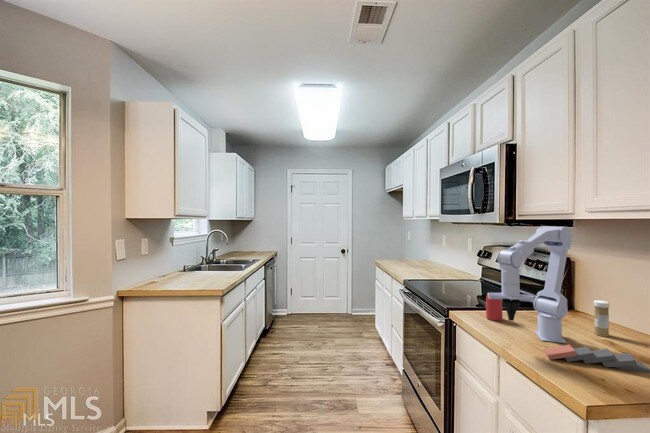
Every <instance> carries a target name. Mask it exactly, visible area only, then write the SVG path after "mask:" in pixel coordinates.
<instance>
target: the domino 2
mask: <svg viewBox="0 0 650 433" xmlns="http://www.w3.org/2000/svg"><path fill="white" fill-rule="evenodd" d="M591 351H592V352H593V353H594V356H595V358H589V359H583V360H582V361H583V363H584V364H587V365H588V364H597V363H602V362H606V361H615V358H614V356H613V353H612V352H611V351H610V349H609V348H602V349H596V350H595V349H594V350H591Z"/></svg>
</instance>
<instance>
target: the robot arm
mask: <svg viewBox="0 0 650 433" xmlns="http://www.w3.org/2000/svg"><path fill="white" fill-rule="evenodd" d="M572 241H573V233H572V231H571V229H570V228H569V227H568V226H548V225H547V226H546V225H541V226H539V227H538V228H537V229H536V232H535V233H534V234H533V235H532V236H531V237H529V238H528V239H527V240H524V239H523V240H522V239H520V240H517V242H516V243H515V244H514V245H513V246H512V245H511V246H509V248H508V249H502V250H501V251H499V253H498V255H497V257H496V260H497V263H498V264H499V269H500V270H501V271H500V272H501V274H500V275H501V276H500V277H501V279H500V280H501V292H497V293H488V292H487V293H488V298H489V299H501V300H502V304H503V305H504V307H505V308H504V309H506V310H505V311H506V313H507V314H506V315H507V318H508V320H509V321H515V316H516V313H517V311H518V309H519V307H520V306H521V302H530V303H532V304H533V305H532V306H533V309H534V310H535V311H536V314H537V330H534V333H535V335H537V336H538V338H539V339H540V340H541V341H542V342H550V343H551V342H553V343H561V344H567V341H566V340H565V339H564V338H563V325H562V324H563V323H562V322H563V321H562V320H563V319H564V318H565V317H566V316H567V315H568V299H567V298H566V296H564V295H563V294H562V292H561V291H562V287H563V286H562V285H563V281H564V280H563V278H564V273H565V268H566V262H567V259H568V258H567V257H568V251H569V250H571V246H572ZM542 244H543V246H545V247H546V248H548V249H549V250H550V255H549V261H548V266H547V271H546V278H545V282H544V288H543V289H542V290H539V291H538V292H537V293H536V296H534V295H530V294H521V293H520V291H521V290H520V267H521V266H522V265H523V264H524V261H525V259H526V258H528V257H529V256H531V255H532V254H533V253H534V252H535V248H536V247H538V246H540V245H542Z"/></svg>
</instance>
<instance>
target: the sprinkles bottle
mask: <svg viewBox="0 0 650 433" xmlns="http://www.w3.org/2000/svg"><path fill="white" fill-rule="evenodd" d="M593 307H594V314H593V315H594V316H593V317H594V318H593V319H594V322H593V323H594V334H595V335H596V336H600V337H605V338H606V337H610V333H609V332H610V331H609V330H610V314H609V312H610V310H609V308H610V303H609V301H606V300H601V299H600V300H599V299H597V300H593Z"/></svg>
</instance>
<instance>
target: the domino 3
mask: <svg viewBox="0 0 650 433" xmlns="http://www.w3.org/2000/svg"><path fill="white" fill-rule="evenodd" d="M612 354H613V353H612ZM613 356H614V358H615V361H606V362H601V363H602V364H603V367H604V368H616V367H621V366H638V365H637V363H636V362H637V361H636V359H635V357H634V355H633V354H632V352H627V353H626V352H625V353H614V354H613Z"/></svg>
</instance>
